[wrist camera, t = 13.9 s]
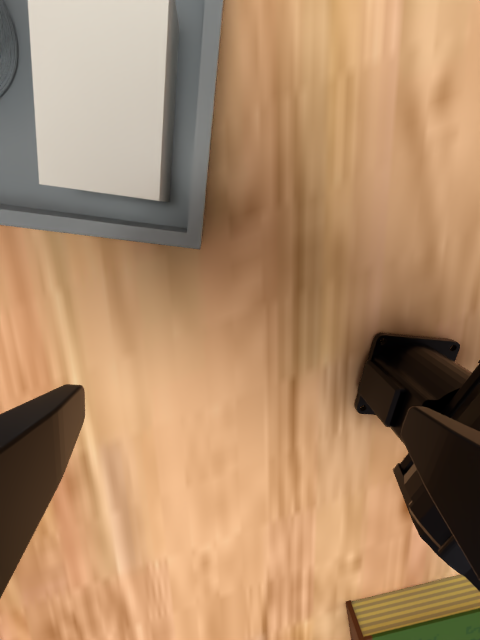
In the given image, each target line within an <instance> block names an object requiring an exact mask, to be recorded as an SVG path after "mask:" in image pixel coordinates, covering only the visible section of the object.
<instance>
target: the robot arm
mask: <svg viewBox="0 0 480 640" xmlns="http://www.w3.org/2000/svg"><path fill="white" fill-rule="evenodd" d="M383 338H384V340H383V342H381V343H380V340H381V339H383ZM452 345H453V346H452ZM451 346H452V348H451V349H450V347H451ZM459 349H460V345H459V343H458V342H456V341H454V340H449V339H439V338H428V337H418V336H407V335H397V334H387V333H379V334H377V335H376V336H375V337H374V340H373V343H372V347H371V350H370V354H369V357H368V360H367V362H366V363H365V366H364V370H363V373H362V377H361V380H360V384H359V387H358V395H357V399H356V402H355V409H356V410H357V412H358V413H360V414H374V415H377V416H378V417H379V419H380V420H381V421H382V422H383V423H384V425H385V426H386V427H391V429H392V430H393V431H394V432H395V434H396V435H397V436H398V437H399V438H400V440H401V441H402V442H403V443H404V444H405V446H406V448H407V450H408V452H409V453H408V455H407V456H406V457H405V458H404V460H403V461H402V462H401V463H398V464H397V465H396V467H395V468H394V469H393V472H394V474H395V477H396V479H397V482H398V485H399V487H400V490H401V492H402V495H403V498H404V500H405V503H406V505H407V508H408V510H409V513H410V516H411V518H412V521H413V523H414V525H415V527H416V529H417V531H418V533H419V535H420V537H421V538H422V539H423V540H424V541H425V542H426V543H427V544H428V545H429V546H430V547H431V548H432V549H433V551H434V552H435V553H436V554H437V555H438V556H439V557H440V558H441V559H442V560H444V561H445V562H446V563H447V564H448V565H449V566H450V567H452V568H453V569H454V570H456V571H457V572H458V573H460V574H461V575H463V576H465V577H466V578H467V579H468V580H469V581H470V582H471V583H472V584H473V585H474V586H475V587H476V588H477V589H478V590H479V591H480V364H479V365H478V366H477V367H476V369H475V370H474V371H473V373H471V372H470V371H468V370H466V369H465V368H463V367H462V366H460V365H459V364H457V363H455V359H456V357H457V354H458V351H459ZM478 363H480V360H479V362H478ZM363 405H364V406H363ZM361 406H363V407H362V408H360V407H361ZM84 418H85V393H84V388H83V386H81V385H70V384H66V385H63V386H61V387H59V388H57V389H54V390H52V391H50V392H48V393H46V394H44V395H41V396H39V397H37V398H35V399H33V400H30V401H28V402H26V403H24V404H22V405H20V406H17V407H15V408H13V409H11V410H9V411H6V412H4V413H2V414H0V598H1V596H2V594H3V592H4V590H5V588H6V586H7V585H8V583H9V581H10V579H11V577H12V575H13V573H14V571H15V569H16V567H17V565H18V563H19V561H20V559H21V557H22V555H23V553H24V552H25V550H26V548H27V546H28V544H29V542H30V540H31V538H32V536H33V534H34V532H35V530H36V528H37V526H38V524H39V522H40V521H41V519H42V517H43V515H44V513H45V511H46V509H47V507H48V505H49V503H50V501H51V499H52V497H53V495H54V493H55V491H56V490H57V488H58V485H59V483H60V481H61V479H62V477H63V475H64V472H65V470H66V467H67V464H68V462H69V459H70V457H71V454H72V451H73V449H74V446H75V443H76V441H77V438H78V436H79V433H80V430H81V428H82V425H83V422H84Z"/></svg>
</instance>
